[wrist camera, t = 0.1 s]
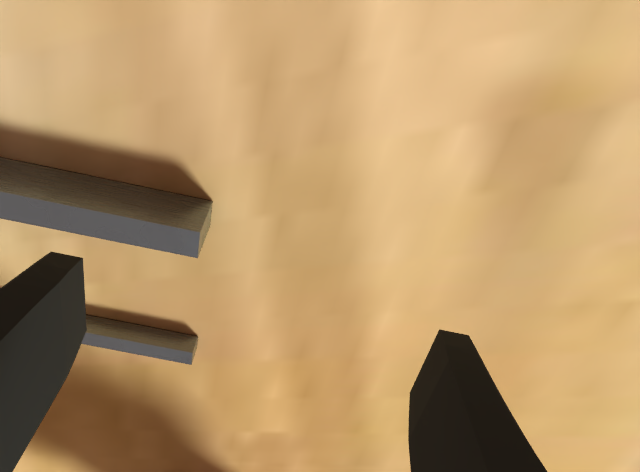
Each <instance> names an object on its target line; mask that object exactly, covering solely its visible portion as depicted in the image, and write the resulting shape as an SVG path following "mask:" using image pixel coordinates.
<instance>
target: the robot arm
mask: <svg viewBox="0 0 640 472" xmlns="http://www.w3.org/2000/svg"><path fill="white" fill-rule="evenodd" d="M86 331H87V327H86V308H85V290H84V272H83V258H80V257H75V256H70V255H65V254H60V253H55V252H50V253H49V254H47V255H46V256H44V257H43V258H41V259H40V260H39V261H37V262H36V263H34V264H33V265H32V266H30V267H29V268H28V269H26V270H25V271H24V272H22V273H21V274H19V275H18V276H17V277H15V278H14V279H13V280H11V281H10V282H8V283H7V284H6V285H4V286H3V287H2V288H0V472H13V470H14V468H15V466H16V465H17V463H18V461H19V460H20V458H21V456H22V454H23V453H24V451H25V449H26V447H27V446H28V444H29V442H30V441H31V439H32V437H33V435H34V434H35V432H36V430H37V428H38V427H39V425H40V423H41V422H42V420H43V418H44V416H45V415H46V413H47V411H48V409H49V408H50V406H51V404H52V402H53V401H54V399H55V397H56V395H57V394H58V392H59V390H60V388H61V387H62V385H63V383H64V381H65V379H66V378H67V376H68V374H69V371H70V369H71V367H72V364H73V362H74V360H75V358H76V355H77V353H78V350H79V348H80V345H81V343H82V340H83V338H84V336H85V333H86ZM409 453H410V464H411V472H547V470H546V469H545V467H544V466H543V464H542V463H541V461H540V460H539V458H538V457H537V455H536V454H535V452H534V450H533V449H532V447H531V446H530V444H529V442H528V441H527V439H526V437H525V436H524V434H523V432H522V431H521V429H520V427H519V426H518V424H517V422H516V421H515V419H514V417H513V415H512V414H511V412H510V410H509V409H508V407H507V405H506V403H505V402H504V400H503V398H502V396H501V394H500V393H499V391H498V389H497V387H496V385H495V383H494V382H493V380H492V378H491V376H490V374H489V372H488V370H487V369H486V367H485V365H484V363H483V361H482V359H481V357H480V355H479V353H478V352H477V350H476V348H475V346H474V344H473V342H472V340H471V339H470V337H469V335H464V334H459V333H454V332H449V331H444V330H439V332H438V334H437V336H436V338H435V340H434V342H433V344H432V347H431V349H430V351H429V353H428V355H427V357H426V359H425V362H424V364H423V366H422V368H421V370H420V372H419V374H418V377H417V379H416V381H415V383H414V385H413V387H412V389H411V392H410V405H409Z"/></svg>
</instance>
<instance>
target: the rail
mask: <svg viewBox="0 0 640 472" xmlns="http://www.w3.org/2000/svg"><path fill="white" fill-rule="evenodd" d="M212 202H213V201H209V200H204V199H199V198H194V197H189V196H185V195H180V194H175V193H170V192H165V191H161V190H156V189H151V188H146V187H141V186H136V185H132V184H127V183H122V182H117V181H112V180H107V179H103V178H98V177H93V176H88V175H83V174H79V173H74V172H69V171H64V170H59V169H54V168H50V167H45V166H40V165H35V164H30V163H26V162H21V161H16V160H11V159H6V158H1V157H0V218H1V219H6V220H11V221H16V222H21V223H26V224H31V225H36V226H41V227H46V228H51V229H56V230H61V231H66V232H71V233H76V234H81V235H86V236H91V237H96V238H101V239H106V240H110V241H115V242H120V243H125V244H130V245H135V246H140V247H145V248H150V249H155V250H160V251H165V252H170V253H175V254H180V255H185V256H190V257H195V258H198V256H199V253H200V251H201V248H202V245H203V243H204V240H205V238H206V235H207V232H208V230H209V227H210V221H211V211H212ZM86 327H87V331H86V333H85V336H84V338H83V340H82V343H81V344H86V345H91V346H96V347H101V348H107V349H112V350H117V351H122V352H128V353H133V354H138V355H143V356H149V357H154V358H159V359H164V360H170V361H175V362H180V363H185V364H192V361H193V358H194V355H195V352H196V349H197V342H198V336H193V335H188V334H183V333H177V332H172V331H167V330H162V329H157V328H152V327H146V326H141V325H136V324H131V323H126V322H121V321H115V320H110V319H105V318H100V317H95V316H90V315H86Z"/></svg>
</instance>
